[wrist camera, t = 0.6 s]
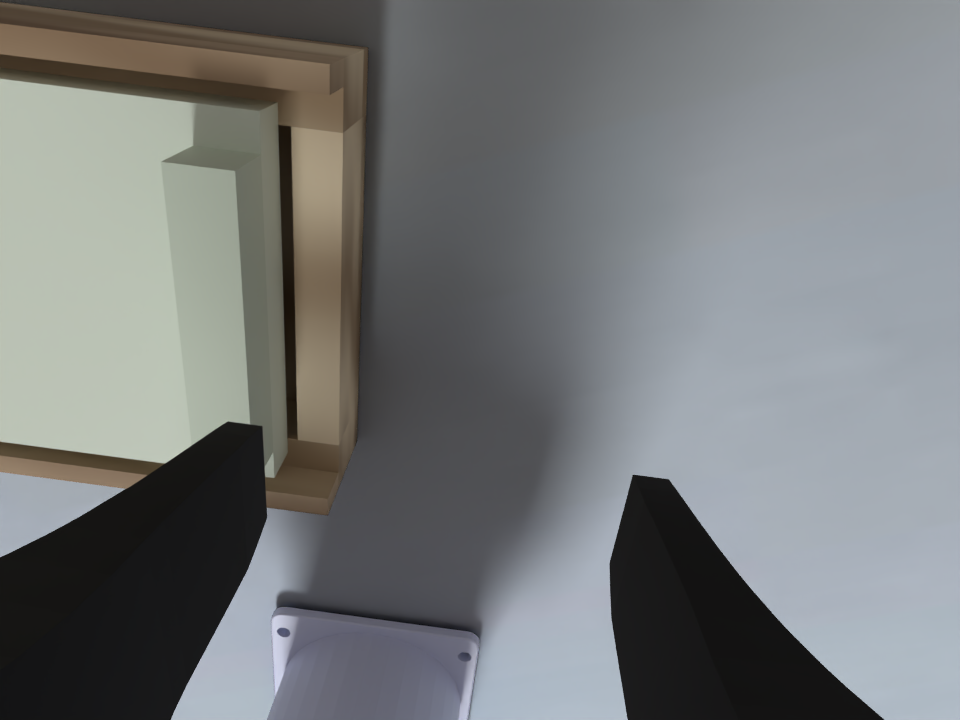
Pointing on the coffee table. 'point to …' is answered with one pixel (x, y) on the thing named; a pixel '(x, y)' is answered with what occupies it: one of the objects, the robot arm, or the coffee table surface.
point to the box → (304, 214)
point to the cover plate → (138, 267)
